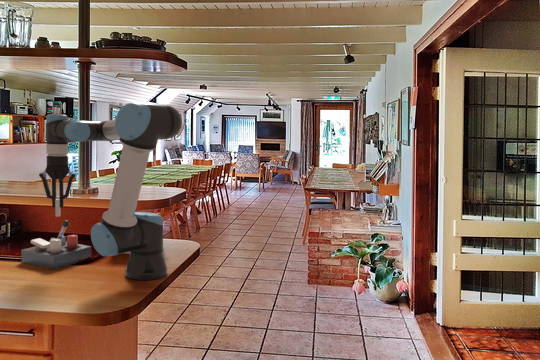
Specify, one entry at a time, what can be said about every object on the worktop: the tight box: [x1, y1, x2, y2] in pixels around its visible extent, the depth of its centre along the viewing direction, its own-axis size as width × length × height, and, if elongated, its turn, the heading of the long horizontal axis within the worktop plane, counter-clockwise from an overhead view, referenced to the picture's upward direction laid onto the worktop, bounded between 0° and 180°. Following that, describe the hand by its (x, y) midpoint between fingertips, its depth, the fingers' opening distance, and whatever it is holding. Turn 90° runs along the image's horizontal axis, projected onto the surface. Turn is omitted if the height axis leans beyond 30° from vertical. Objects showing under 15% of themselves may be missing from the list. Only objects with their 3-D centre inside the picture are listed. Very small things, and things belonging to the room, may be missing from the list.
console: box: [20, 235, 92, 271], centre depth 187 cm, size 18×18×8 cm
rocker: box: [30, 237, 50, 248], centre depth 185 cm, size 7×4×1 cm, turn 65°
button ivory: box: [49, 238, 61, 254], centre depth 181 cm, size 4×4×5 cm
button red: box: [66, 234, 79, 249], centre depth 188 cm, size 4×4×5 cm
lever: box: [56, 219, 70, 239], centre depth 190 cm, size 3×3×10 cm
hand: (58, 215), depth 181 cm, fingers closed
